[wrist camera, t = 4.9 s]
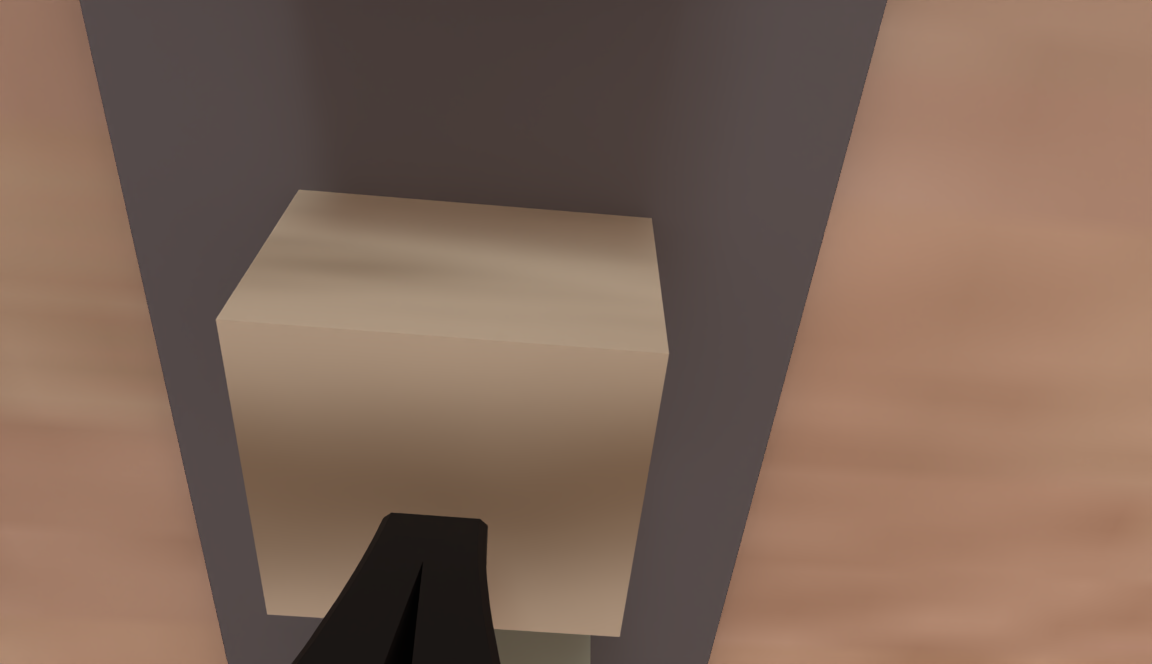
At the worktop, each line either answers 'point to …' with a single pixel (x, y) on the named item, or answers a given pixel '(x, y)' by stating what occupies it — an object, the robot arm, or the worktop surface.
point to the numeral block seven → (542, 647)
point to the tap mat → (503, 178)
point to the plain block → (449, 395)
